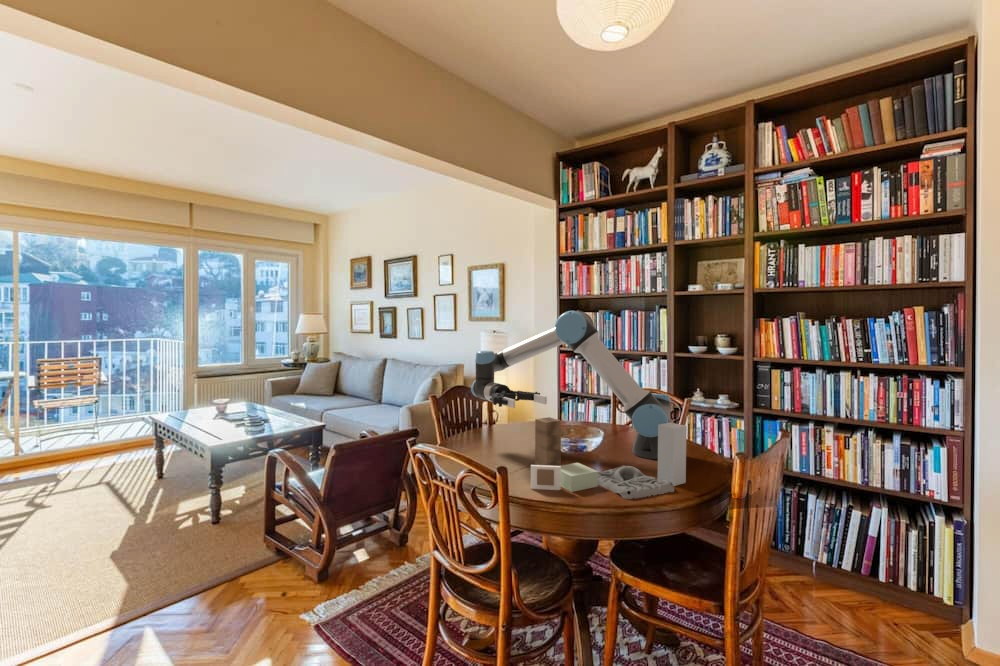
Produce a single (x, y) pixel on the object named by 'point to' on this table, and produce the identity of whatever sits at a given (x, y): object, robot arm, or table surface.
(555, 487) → the card
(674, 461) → the grey plastic block
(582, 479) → the sage base block
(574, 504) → the table surface
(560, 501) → the table surface
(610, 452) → the table surface
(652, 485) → the wall plaque
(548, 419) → the walnut block
